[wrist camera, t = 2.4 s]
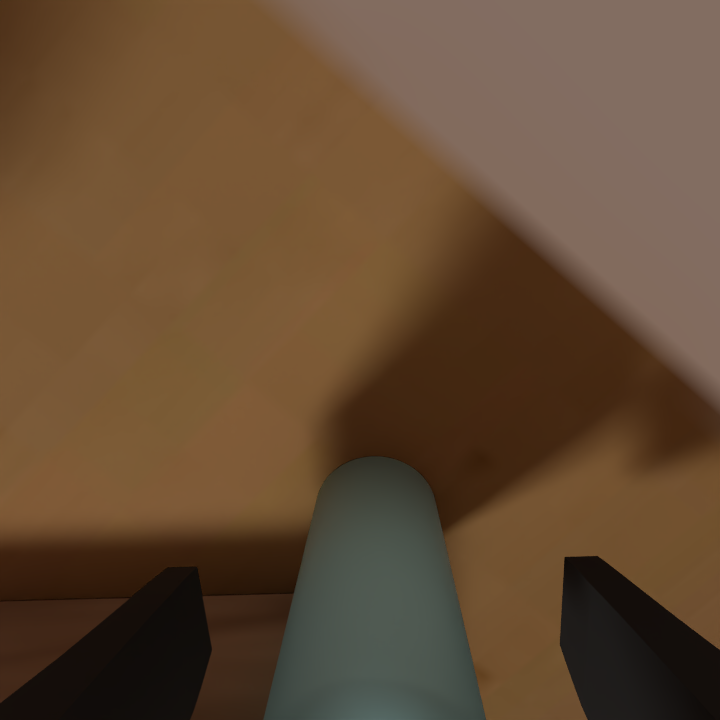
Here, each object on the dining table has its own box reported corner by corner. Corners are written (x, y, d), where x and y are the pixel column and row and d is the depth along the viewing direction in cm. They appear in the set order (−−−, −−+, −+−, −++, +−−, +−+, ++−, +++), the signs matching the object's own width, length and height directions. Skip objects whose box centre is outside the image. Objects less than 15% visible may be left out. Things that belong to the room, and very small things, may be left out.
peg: (310, 458, 11) (239, 680, 5) (434, 453, 11) (498, 676, 5) (321, 564, 12) (269, 857, 6) (437, 561, 12) (495, 858, 6)
